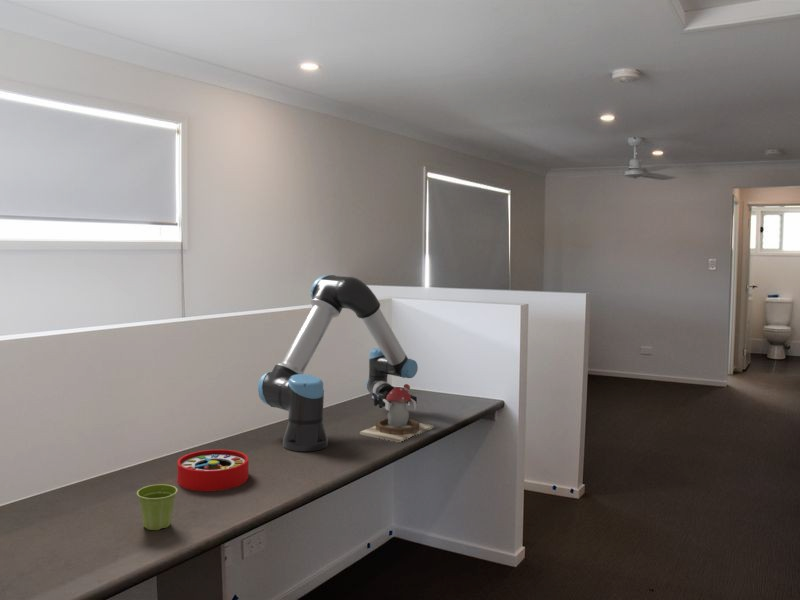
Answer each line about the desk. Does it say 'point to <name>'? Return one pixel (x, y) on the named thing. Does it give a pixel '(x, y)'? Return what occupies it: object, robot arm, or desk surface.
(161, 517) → the plant pot
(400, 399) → the decorative ornament
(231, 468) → the toy clock
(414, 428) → the collar board
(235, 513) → the desk surface
